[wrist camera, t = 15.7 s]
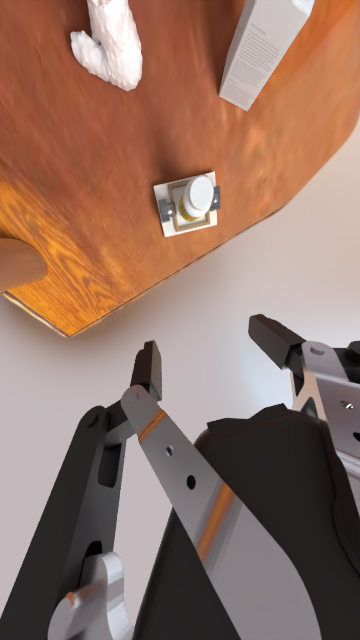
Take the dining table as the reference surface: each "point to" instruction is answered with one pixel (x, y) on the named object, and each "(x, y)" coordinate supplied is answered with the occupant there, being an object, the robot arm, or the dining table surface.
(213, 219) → the coupling board
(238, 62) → the skincare box
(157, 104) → the dining table surface
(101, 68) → the white creature statuette
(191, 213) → the supplement bottle
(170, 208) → the shaft stubs
